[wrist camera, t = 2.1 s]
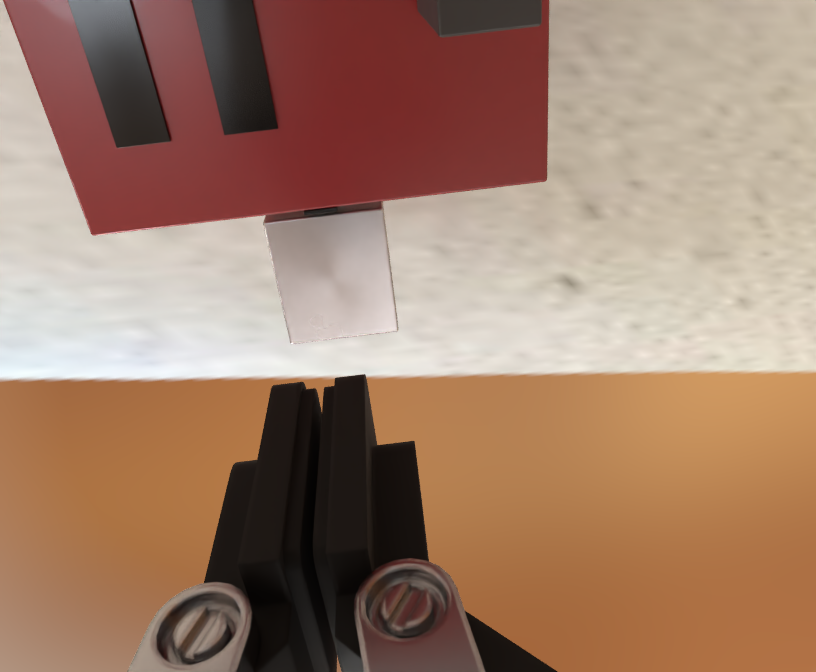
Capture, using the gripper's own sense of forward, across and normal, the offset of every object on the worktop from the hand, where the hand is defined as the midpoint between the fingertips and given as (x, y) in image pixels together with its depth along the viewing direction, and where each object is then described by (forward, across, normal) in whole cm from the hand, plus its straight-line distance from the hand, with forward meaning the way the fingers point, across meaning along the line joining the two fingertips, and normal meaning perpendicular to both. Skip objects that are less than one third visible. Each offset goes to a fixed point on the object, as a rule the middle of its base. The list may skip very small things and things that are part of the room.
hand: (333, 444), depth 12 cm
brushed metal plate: (+7, 0, 0) cm, 7 cm away
